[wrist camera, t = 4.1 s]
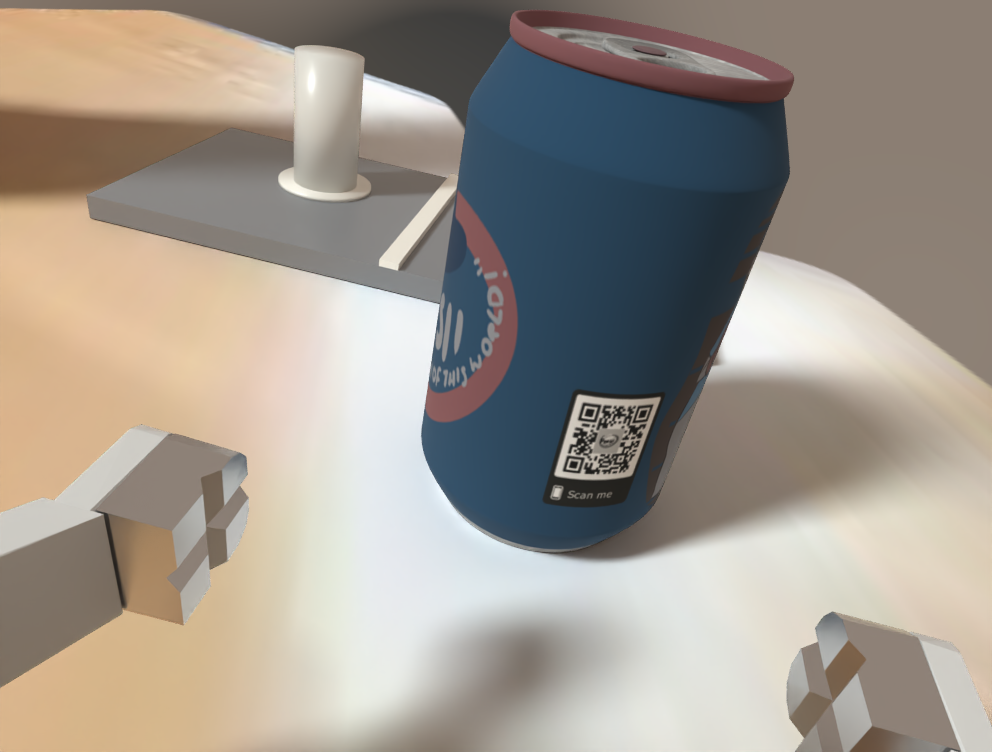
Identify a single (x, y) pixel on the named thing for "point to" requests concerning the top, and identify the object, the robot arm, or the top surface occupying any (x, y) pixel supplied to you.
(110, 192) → the board
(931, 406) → the top surface
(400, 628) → the top surface
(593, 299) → the soda can
